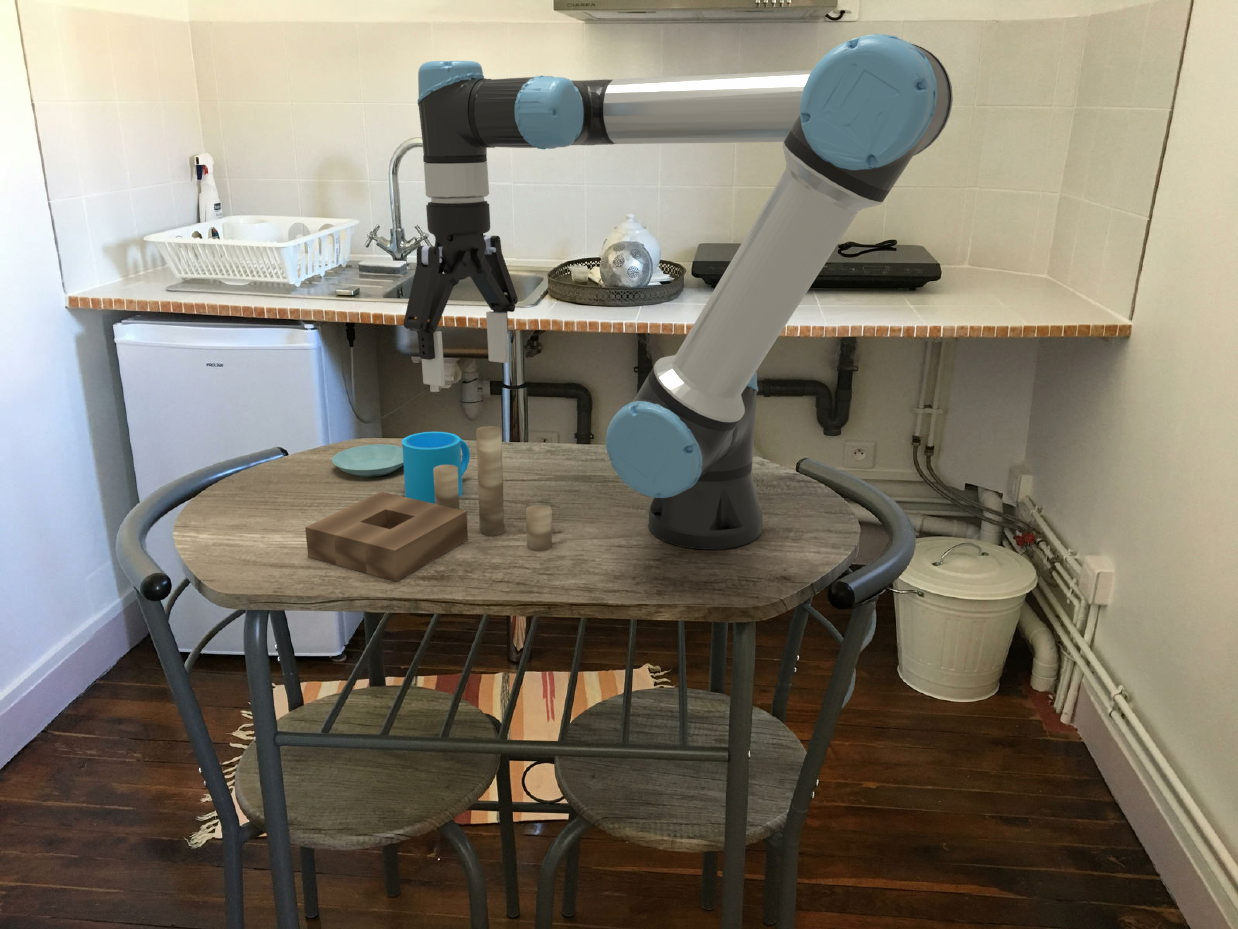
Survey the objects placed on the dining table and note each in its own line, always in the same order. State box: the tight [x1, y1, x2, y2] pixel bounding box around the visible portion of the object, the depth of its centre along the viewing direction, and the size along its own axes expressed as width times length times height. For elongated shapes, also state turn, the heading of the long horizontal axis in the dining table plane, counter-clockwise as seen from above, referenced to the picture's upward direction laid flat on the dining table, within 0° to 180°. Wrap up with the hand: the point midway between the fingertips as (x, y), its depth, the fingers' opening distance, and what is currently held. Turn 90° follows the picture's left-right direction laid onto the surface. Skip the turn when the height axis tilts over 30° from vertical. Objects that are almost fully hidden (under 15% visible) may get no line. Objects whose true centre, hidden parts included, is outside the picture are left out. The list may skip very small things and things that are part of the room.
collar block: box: [304, 491, 469, 582], centre depth 127 cm, size 14×14×4 cm
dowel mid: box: [433, 465, 460, 510], centre depth 136 cm, size 3×3×7 cm
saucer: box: [331, 443, 404, 478], centre depth 155 cm, size 12×12×2 cm
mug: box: [401, 431, 471, 504], centre depth 146 cm, size 12×8×8 cm
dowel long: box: [475, 425, 505, 537], centre depth 131 cm, size 3×3×14 cm
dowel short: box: [525, 504, 553, 552], centre depth 128 cm, size 3×3×5 cm
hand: (468, 372), depth 128 cm, fingers open, 13 cm apart
